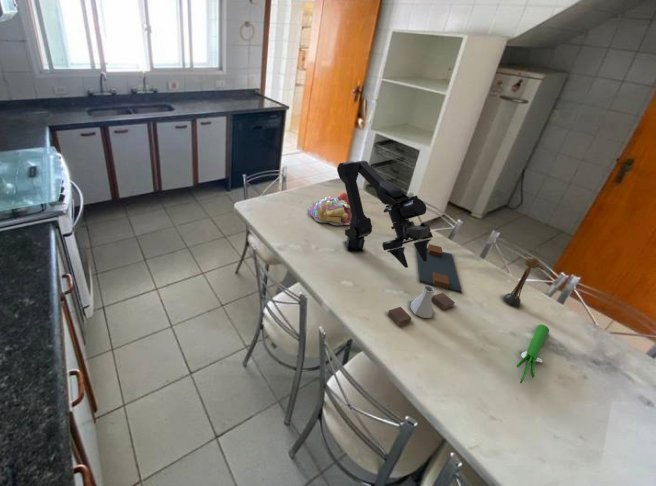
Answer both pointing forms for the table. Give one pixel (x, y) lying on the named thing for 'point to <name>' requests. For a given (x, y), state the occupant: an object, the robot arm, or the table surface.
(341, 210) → the multicoloured lumpy mound
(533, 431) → the table surface
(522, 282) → the wooden tabletop sculpture
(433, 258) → the right mat
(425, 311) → the flask
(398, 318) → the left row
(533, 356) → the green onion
